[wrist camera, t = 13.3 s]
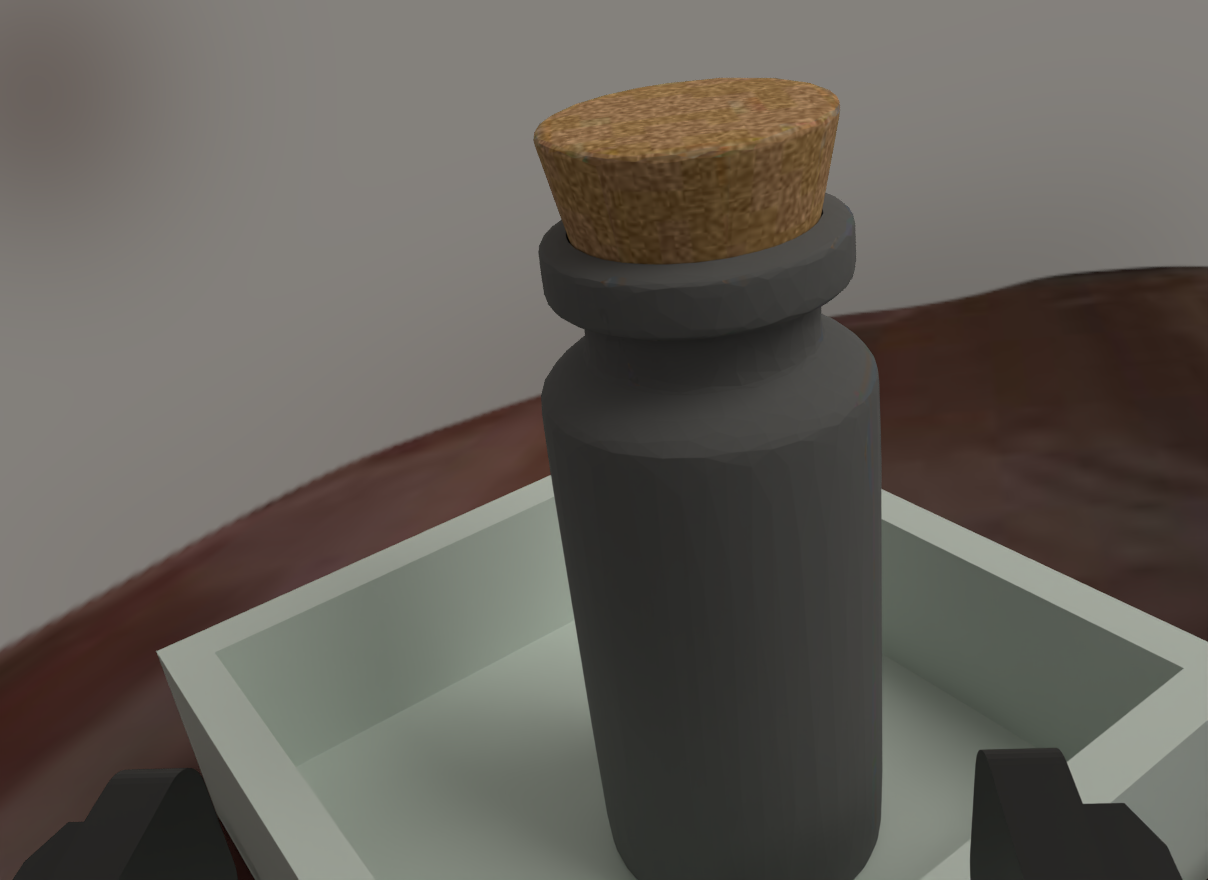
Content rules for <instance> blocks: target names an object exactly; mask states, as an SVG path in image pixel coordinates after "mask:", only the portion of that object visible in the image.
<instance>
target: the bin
mask: <svg viewBox="0 0 1208 880" xmlns="http://www.w3.org/2000/svg"><path fill="white" fill-rule="evenodd" d="M881 514H882V805H881V823H880V829H879V835H878V839H877V842H876V845H875V847H874V850H873V852H872V854H871V856H870V858H869V860H868V862H867V864H866V865H865V867H864V868H863V870H862V871H861V872H860V873H859V874H858V875H857V877H856V878H855V879H854V880H971V879H970V845H971V828H972V812H973V795H974V779H975V764H976V756H977V753H978V751H979V750H986V749H1024V748H1058V749H1059V750H1060V751H1061V752H1062V754H1063V755H1064V757H1065V759H1066V762H1067V764H1068V766H1069V769H1070V772H1071V774H1072V777H1073V779H1074V782H1075V785H1076V787H1077V790H1078V792H1079V795H1080V797H1081V800H1082V803H1083V804H1096V803H1125V804H1126V805H1127V806H1128V807H1129V808H1130V809H1131V810H1132V811H1133V812H1134V813H1135V814H1136V815H1137V816H1138V817H1139V818H1140V819H1141V820H1142V821H1143V822H1144V823H1145V824H1146V825H1147V826H1148V827H1149V828H1150V829H1151V830H1152V831H1153V832H1154V833H1155V834H1156V835H1157V836H1158V837H1159V838H1160V839H1161V840H1162V841H1163V842H1164V843H1165V844H1166V845H1167V847H1168V849H1169V851H1170V853H1171V855H1172V858H1173V860H1174V862H1175V864H1176V866H1177V869H1178V871H1179V873H1180V875H1181V877H1182V880H1206V879H1207V878H1208V642H1207V641H1204V640H1202V639H1200V638H1198V637H1196V636H1194V635H1192V634H1190V633H1187V632H1185V631H1183V630H1181V629H1179V628H1177V627H1175V626H1172V625H1170V624H1168V623H1166V622H1164V621H1162V620H1160V619H1158V618H1155V617H1153V616H1151V615H1149V614H1147V613H1145V612H1143V611H1140V610H1138V609H1136V608H1134V607H1132V606H1130V605H1128V604H1126V603H1123V602H1121V601H1119V600H1117V599H1115V598H1113V597H1111V596H1108V595H1106V594H1104V593H1102V592H1100V591H1098V590H1096V589H1093V588H1091V587H1089V586H1087V585H1085V584H1083V583H1081V582H1079V581H1076V580H1074V579H1072V578H1070V577H1068V576H1066V575H1064V574H1061V573H1059V572H1057V571H1055V570H1053V569H1051V568H1049V567H1047V566H1044V565H1042V564H1040V563H1038V562H1036V561H1034V560H1032V559H1029V558H1027V557H1025V556H1023V555H1021V554H1019V553H1017V552H1015V551H1012V550H1010V549H1008V548H1006V547H1004V546H1002V545H1000V544H997V543H995V542H993V541H991V540H989V539H987V538H985V537H982V536H980V535H978V534H976V533H974V532H972V531H970V530H968V529H965V528H963V527H961V526H959V525H957V524H955V523H953V522H950V521H948V520H946V519H944V518H942V517H940V516H938V515H936V514H933V513H931V512H929V511H927V510H925V509H923V508H921V507H918V506H916V505H914V504H912V503H910V502H908V501H906V500H903V499H901V498H899V497H897V496H895V495H893V494H891V493H889V492H886V491H884V490H882V489H881ZM156 652H157V654H158V657H159V660H160V662H161V665H162V668H163V670H164V673H165V676H166V679H167V681H168V684H169V687H170V689H171V692H172V695H173V697H174V700H175V703H176V705H177V708H178V711H179V713H180V716H181V719H182V721H183V724H184V727H185V730H186V732H187V735H188V738H189V740H190V743H191V746H192V748H193V751H194V754H195V756H196V759H197V762H198V764H199V767H200V770H201V772H202V775H203V778H204V780H205V783H206V786H207V789H208V791H209V794H210V797H211V799H212V802H213V805H214V807H215V810H216V813H217V815H218V816H219V818H220V820H221V822H222V823H223V825H224V827H225V829H226V830H227V832H228V834H229V835H230V837H231V839H232V841H233V842H234V844H235V846H236V848H237V849H238V851H239V853H240V855H241V856H242V858H243V860H244V861H245V863H246V865H247V867H248V868H249V870H250V872H251V874H252V875H253V877H254V879H255V880H637V879H636V878H635V877H634V875H633V874H632V873H631V872H630V871H629V869H628V868H627V867H626V865H625V863H624V862H623V860H622V858H621V856H620V854H619V853H618V851H617V848H616V846H615V843H614V840H613V836H612V832H611V828H610V823H609V819H608V815H607V810H606V804H605V798H604V793H603V787H602V781H601V775H600V770H599V764H598V758H597V752H596V747H595V741H594V735H593V729H592V724H591V718H590V711H589V705H588V699H587V693H586V687H585V681H584V675H583V669H582V663H581V656H580V650H579V644H578V638H577V632H576V626H575V620H574V614H573V608H572V602H571V595H570V589H569V583H568V577H567V571H566V565H565V559H564V553H563V547H562V541H561V534H560V528H559V522H558V516H557V510H556V504H555V498H554V492H553V486H552V479H551V475H550V476H548V477H546V478H543V479H541V480H539V481H537V482H534V483H532V484H530V485H528V486H525V487H523V488H521V489H519V490H517V491H514V492H512V493H510V494H508V495H505V496H503V497H501V498H499V499H496V500H494V501H492V502H490V503H487V504H485V505H483V506H481V507H479V508H476V509H474V510H472V511H470V512H467V513H465V514H463V515H461V516H458V517H456V518H454V519H452V520H449V521H447V522H445V523H443V524H441V525H438V526H436V527H434V528H432V529H429V530H427V531H425V532H423V533H420V534H418V535H416V536H414V537H411V538H409V539H407V540H405V541H402V542H400V543H398V544H396V545H394V546H391V547H389V548H387V549H385V550H382V551H380V552H378V553H376V554H373V555H371V556H369V557H367V558H364V559H362V560H360V561H358V562H356V563H353V564H351V565H349V566H347V567H344V568H342V569H340V570H338V571H335V572H333V573H331V574H329V575H326V576H324V577H322V578H320V579H318V580H315V581H313V582H311V583H309V584H306V585H304V586H302V587H300V588H297V589H295V590H293V591H291V592H288V593H286V594H284V595H282V596H279V597H277V598H275V599H273V600H271V601H268V602H266V603H264V604H262V605H259V606H257V607H255V608H253V609H250V610H248V611H246V612H244V613H241V614H239V615H237V616H235V617H233V618H230V619H228V620H226V621H224V622H221V623H219V624H217V625H215V626H212V627H210V628H208V629H206V630H203V631H201V632H199V633H197V634H194V635H192V636H190V637H188V638H186V639H183V640H181V641H179V642H177V643H174V644H172V645H170V646H168V647H165V648H163V649H161V650H159V651H156Z"/></svg>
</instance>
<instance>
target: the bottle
mask: <svg viewBox="0 0 1208 880" xmlns="http://www.w3.org/2000/svg"><path fill="white" fill-rule="evenodd" d="M839 112H840V104H839V100H838V98H837V96H836V95H835V94H833V93H832V92H831V91H830V90H828V89H825V88H822V87H819V86H816V85H814V84H811V83H805V82H798V81H791V80H784V79H777V78H716V79H707V80H696V81H685V82H676V83H666V84H660V85H653V86H647V87H642V88H636V89H631V90H627V91H622V92H618V93H613V94H609V95H604V96H601V97H598V98H595V99H591V100H588V101H585V102H582V103H579V104H576V105H573V106H571V107H569V108H567V109H564V110H562V111H560V112H558V113H556V114H554V115H552V116H550V117H549V118H547V119H546V120H545V121H543V122H542V123H541V124H540V125H539V126H538V128H537V129H536V131H535V132H534V144H535V147H536V150H537V153H538V155H539V158H540V161H541V163H542V167H543V169H544V172H545V175H546V178H547V180H548V183H549V186H550V189H551V191H552V194H553V197H554V200H555V202H556V205H557V208H558V211H559V214H560V216H561V219H562V220H561V221H559V222H558V223H557V224H555V225H554V226H552V227H551V229H550V230H549V231H548V232H547V233H546V234H545V235H544V237H543V239H542V241H541V243H540V245H539V259H540V268H541V275H542V282H543V289H544V295H545V297H546V299H547V302H548V305H549V306H550V307H551V308H552V309H553V310H554V312H555V313H556V314H558V315H559V316H560V317H561V318H563V319H565V320H566V321H568V322H570V323H572V324H574V325H576V326H578V327H580V328H583V329H585V336H584V337H583V338H581V339H580V340H579V341H578V342H576V343H575V344H574V345H573V346H572V347H571V348H569V349H568V350H567V351H566V352H565V353H564V354H563V356H562V357H561V358H560V359H559V360H558V361H557V362H556V364H555V365H554V367H553V369H552V370H551V372H550V373H549V375H548V376H547V378H546V379H545V382H544V386H543V391H542V395H541V401H542V416H543V423H544V430H545V437H546V444H547V451H548V458H549V465H550V472H551V479H552V486H553V492H554V498H555V504H556V510H557V516H558V522H559V528H560V534H561V541H562V547H563V553H564V559H565V565H566V571H567V577H568V583H569V589H570V595H571V602H572V608H573V614H574V620H575V626H576V632H577V638H578V644H579V650H580V656H581V663H582V669H583V675H584V681H585V687H586V693H587V699H588V705H589V711H590V718H591V724H592V729H593V735H594V741H595V747H596V752H597V758H598V764H599V770H600V775H601V781H602V787H603V793H604V798H605V804H606V810H607V815H608V819H609V823H610V828H611V832H612V836H613V840H614V843H615V846H616V848H617V851H618V853H619V854H620V856H621V858H622V860H623V862H624V863H625V865H626V867H627V868H628V869H629V871H630V872H631V873H632V874H633V875H634V877H635V878H636V879H637V880H854V879H855V878H856V877H857V875H858V874H859V873H860V872H861V871H862V870H863V868H864V867H865V865H866V864H867V862H868V860H869V858H870V856H871V854H872V852H873V850H874V847H875V845H876V842H877V839H878V835H879V829H880V823H881V805H882V514H881V430H880V397H879V376H878V369H877V365H876V362H875V359H874V356H873V355H872V353H871V352H870V351H869V349H868V348H867V346H866V345H865V344H864V343H863V342H862V341H861V340H860V339H859V338H858V337H857V336H856V335H855V334H854V333H853V332H851V331H850V330H849V329H847V328H846V327H844V326H843V325H841V324H840V323H838V322H837V321H835V320H834V319H832V318H830V317H827V316H825V315H823V314H821V306H823V305H824V304H826V303H827V302H829V301H830V300H832V299H833V298H834V297H835V296H837V295H838V294H839V293H840V292H841V291H843V289H844V288H846V287H847V285H848V284H849V282H850V280H851V279H852V277H853V274H854V270H855V262H856V244H855V243H856V241H855V240H856V239H855V222H854V218H853V214H852V212H851V211H850V209H849V207H848V206H846V205H845V204H844V203H843V202H842V201H840V200H839V199H837V198H836V197H834V196H832V195H830V194H827V193H825V191H826V186H827V180H828V175H829V169H830V164H831V158H832V153H833V147H834V142H835V136H836V131H837V125H838V120H839Z"/></svg>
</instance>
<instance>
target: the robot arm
mask: <svg viewBox="0 0 1208 880" xmlns="http://www.w3.org/2000/svg"><path fill="white" fill-rule="evenodd" d="M970 879H971V880H1182V877H1181V875H1180V873H1179V871H1178V869H1177V866H1176V864H1175V862H1174V860H1173V858H1172V855H1171V853H1170V851H1169V849H1168V847H1167V845H1166V844H1165V843H1164V842H1163V841H1162V840H1161V839H1160V838H1159V837H1158V836H1157V835H1156V834H1155V833H1154V832H1153V831H1152V830H1151V829H1150V828H1149V827H1148V826H1147V825H1146V824H1145V823H1144V822H1143V821H1142V820H1141V819H1140V818H1139V817H1138V816H1137V815H1136V814H1135V813H1134V812H1133V811H1132V810H1131V809H1130V808H1129V807H1128V806H1127V805H1126V804H1125V803H1096V804H1083V803H1082V800H1081V797H1080V795H1079V792H1078V790H1077V787H1076V785H1075V782H1074V779H1073V777H1072V774H1071V772H1070V769H1069V766H1068V764H1067V762H1066V759H1065V757H1064V755H1063V754H1062V752H1061V751H1060V750H1059V749H1058V748H1024V749H986V750H979V751H978V753H977V756H976V764H975V779H974V795H973V812H972V828H971V845H970ZM13 880H238V878H237V872H236V867H235V864H234V861H233V858H232V856H231V853H230V850H229V848H228V845H227V842H226V839H225V837H224V834H223V831H222V829H221V826H220V823H219V820H218V818H217V815H216V812H215V810H214V807H213V804H212V802H211V799H210V796H209V793H208V791H207V788H206V785H205V783H204V780H203V778H202V776H201V775H200V774H199V772H197V771H196V770H195V769H192V768H173V769H136V770H123V771H120V772H118V773H117V774H115V775H114V776H113V777H112V778H111V780H110V781H109V782H108V784H107V785H106V787H105V789H104V790H103V792H102V793H101V795H100V797H99V798H98V800H97V802H96V803H95V805H94V806H93V808H92V810H91V811H90V813H89V815H88V816H87V818H86V819H85V821H84V822H68V823H67V824H66V825H65V826H64V827H62V828H61V829H60V830H59V831H58V832H57V833H56V834H55V835H54V836H53V837H51V838H50V839H49V840H48V841H47V842H46V843H45V844H44V845H43V846H41V847H40V848H39V849H38V850H37V851H36V852H35V853H34V854H33V855H31V856H30V857H29V858H28V859H27V860H26V861H25V862H24V863H23V865H22V866H21V868H20V869H19V871H18V872H17V874H16V875H15V877H14V878H13Z"/></svg>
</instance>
